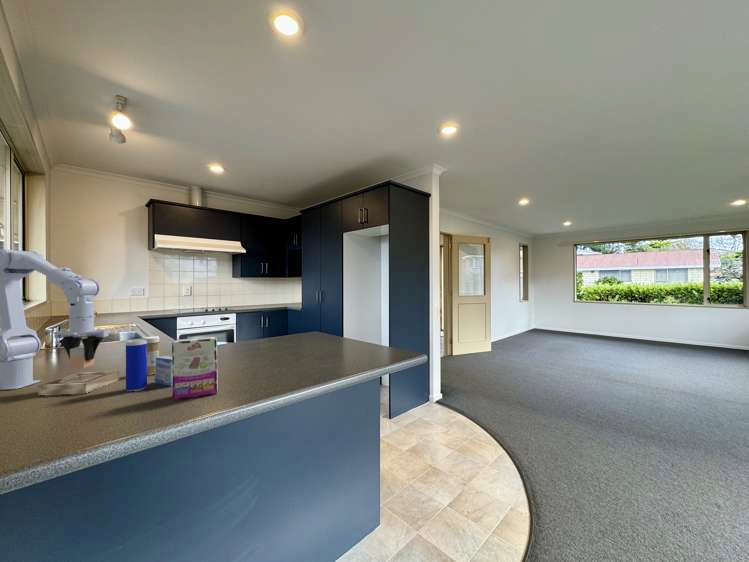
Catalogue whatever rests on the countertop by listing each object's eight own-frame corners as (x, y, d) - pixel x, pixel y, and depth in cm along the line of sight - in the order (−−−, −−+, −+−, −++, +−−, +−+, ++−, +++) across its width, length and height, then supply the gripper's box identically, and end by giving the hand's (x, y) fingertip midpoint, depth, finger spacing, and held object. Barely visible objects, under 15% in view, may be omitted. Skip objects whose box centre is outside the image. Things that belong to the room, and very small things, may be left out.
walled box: (38, 395, 89) (38, 385, 89) (77, 381, 102) (77, 372, 102) (86, 393, 90) (86, 383, 90) (119, 380, 103) (119, 371, 103)
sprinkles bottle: (158, 371, 113) (158, 335, 113) (159, 374, 110) (159, 337, 110) (143, 373, 110) (143, 336, 111) (144, 376, 107) (144, 338, 107)
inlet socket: (58, 390, 92) (58, 382, 92) (79, 382, 99) (79, 375, 99) (84, 389, 93) (84, 381, 93) (103, 382, 100) (103, 374, 100)
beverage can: (150, 387, 95) (150, 339, 95) (133, 393, 90) (133, 342, 91) (139, 385, 97) (139, 338, 97) (121, 391, 92) (121, 341, 92)
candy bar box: (218, 389, 93) (217, 335, 93) (217, 394, 89) (217, 338, 89) (174, 395, 88) (174, 338, 89) (171, 401, 84) (171, 341, 84)
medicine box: (154, 384, 99) (154, 357, 99) (168, 380, 103) (168, 354, 103) (171, 387, 96) (171, 359, 96) (184, 382, 100) (184, 356, 100)
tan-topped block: (69, 368, 94) (69, 348, 94) (81, 364, 98) (81, 346, 98) (83, 367, 94) (83, 348, 95) (94, 364, 98) (94, 345, 99)
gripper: (44, 319, 92) (44, 364, 92) (95, 318, 93) (95, 362, 93) (66, 316, 99) (66, 358, 99) (113, 315, 100) (113, 357, 100)
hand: (81, 360), depth 96 cm, fingers closed on tan-topped block, 4 cm apart
